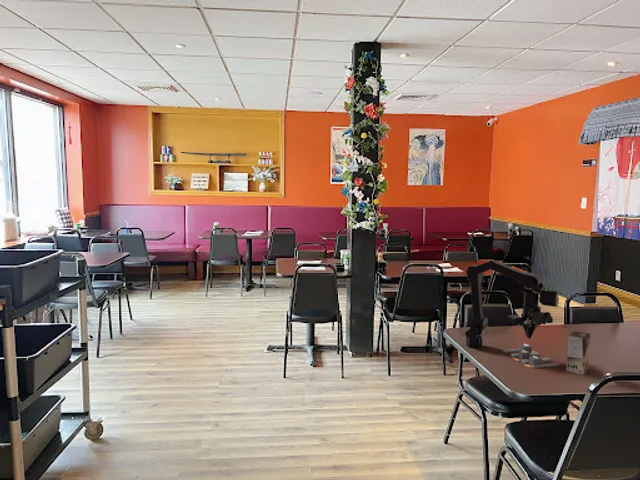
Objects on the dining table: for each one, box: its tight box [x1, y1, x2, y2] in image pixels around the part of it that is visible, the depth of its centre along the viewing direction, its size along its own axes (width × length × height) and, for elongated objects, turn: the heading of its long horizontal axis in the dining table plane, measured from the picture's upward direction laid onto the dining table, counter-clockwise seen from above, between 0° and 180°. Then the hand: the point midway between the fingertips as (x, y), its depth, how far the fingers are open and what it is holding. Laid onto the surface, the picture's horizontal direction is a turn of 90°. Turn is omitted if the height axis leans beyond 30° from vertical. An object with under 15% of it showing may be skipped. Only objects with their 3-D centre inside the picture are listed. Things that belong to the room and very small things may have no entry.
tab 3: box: [528, 356, 543, 366], centre depth 194 cm, size 4×3×4 cm
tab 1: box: [519, 343, 533, 352], centre depth 210 cm, size 4×3×4 cm
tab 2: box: [517, 350, 531, 361], centre depth 201 cm, size 4×3×4 cm
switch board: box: [503, 348, 561, 369], centre depth 202 cm, size 16×20×2 cm
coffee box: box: [565, 330, 591, 375], centre depth 189 cm, size 9×6×16 cm
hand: (528, 338), depth 202 cm, fingers closed
